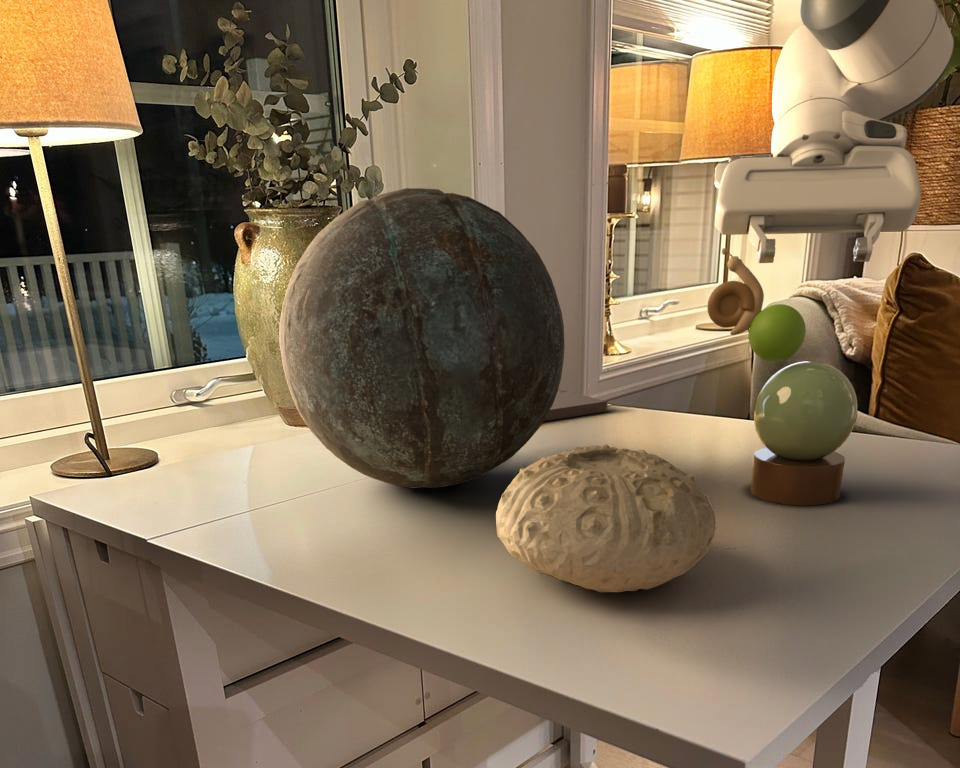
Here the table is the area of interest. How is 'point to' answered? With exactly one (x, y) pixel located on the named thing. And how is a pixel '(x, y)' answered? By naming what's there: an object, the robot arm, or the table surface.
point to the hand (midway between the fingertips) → (814, 258)
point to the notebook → (574, 405)
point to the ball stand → (802, 434)
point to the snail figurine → (756, 315)
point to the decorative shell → (606, 519)
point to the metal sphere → (422, 338)
